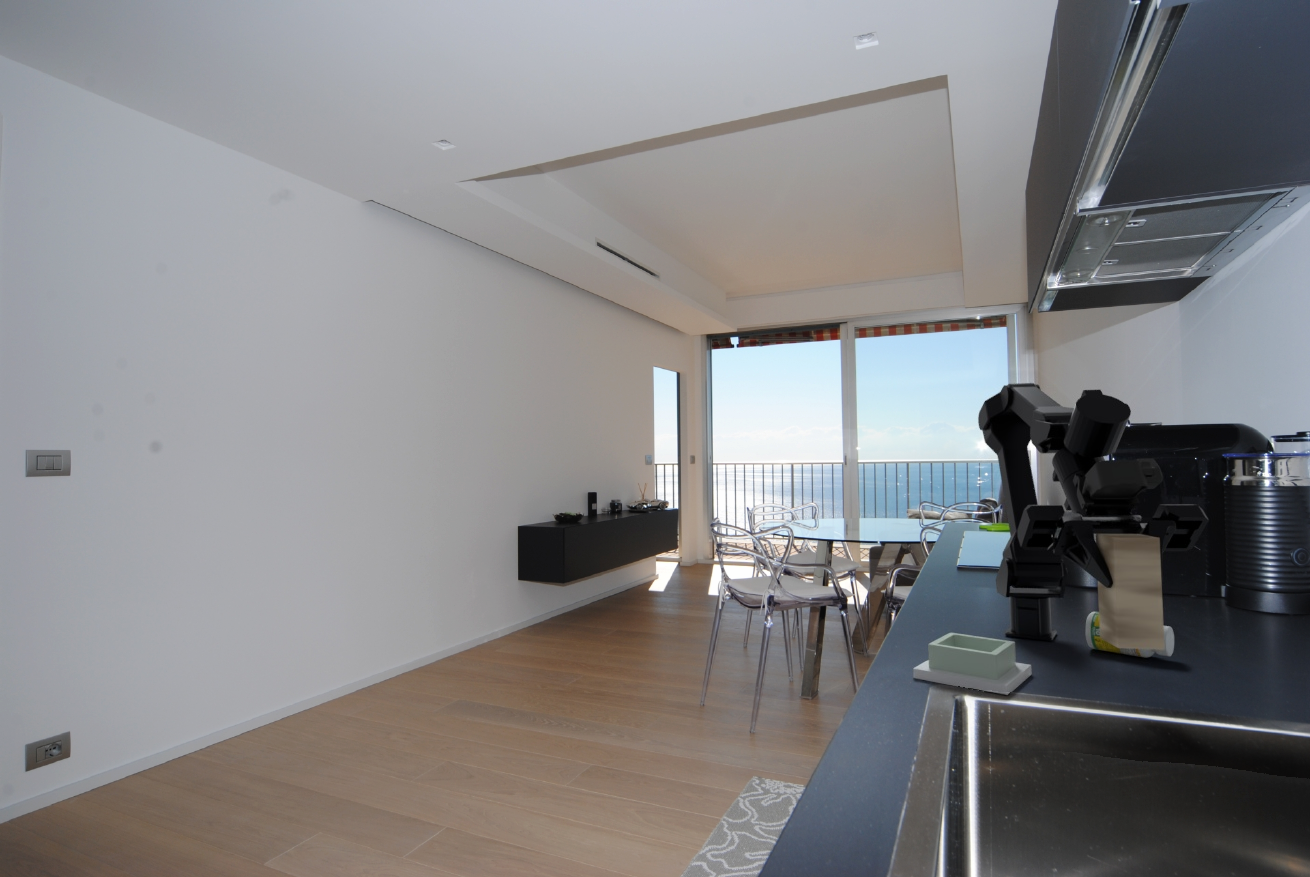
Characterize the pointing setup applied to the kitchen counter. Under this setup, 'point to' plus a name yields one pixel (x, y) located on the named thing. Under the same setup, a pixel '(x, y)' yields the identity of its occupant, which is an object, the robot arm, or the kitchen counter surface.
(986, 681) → the caddy
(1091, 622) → the supplement bottle
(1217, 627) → the kitchen counter surface
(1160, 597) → the brown box
